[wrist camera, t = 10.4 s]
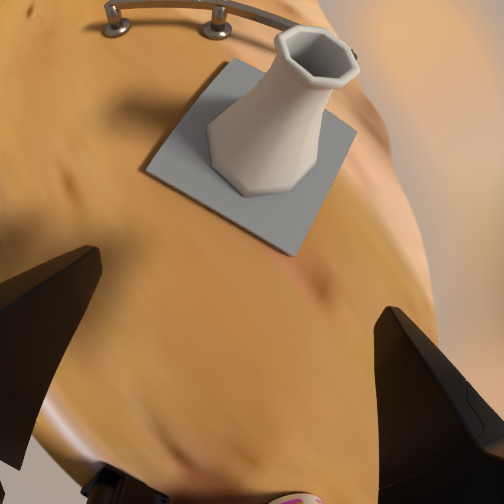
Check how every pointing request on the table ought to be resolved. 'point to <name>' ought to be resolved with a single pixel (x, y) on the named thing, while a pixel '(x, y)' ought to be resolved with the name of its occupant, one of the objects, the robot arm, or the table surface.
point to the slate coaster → (223, 192)
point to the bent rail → (217, 3)
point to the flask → (281, 114)
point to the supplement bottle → (297, 499)
